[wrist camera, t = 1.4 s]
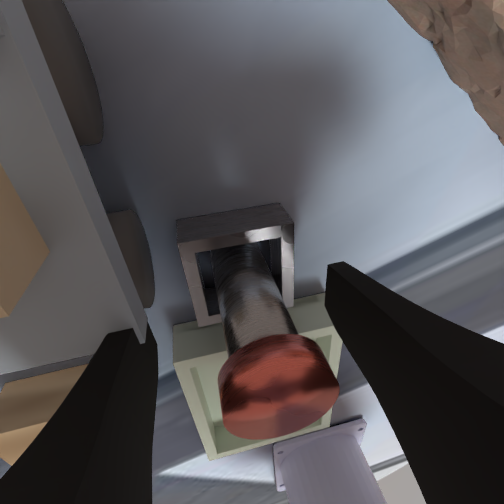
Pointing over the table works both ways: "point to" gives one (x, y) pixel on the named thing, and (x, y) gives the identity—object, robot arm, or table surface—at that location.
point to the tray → (215, 355)
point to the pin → (265, 353)
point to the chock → (31, 408)
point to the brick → (466, 47)
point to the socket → (231, 234)
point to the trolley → (58, 202)
